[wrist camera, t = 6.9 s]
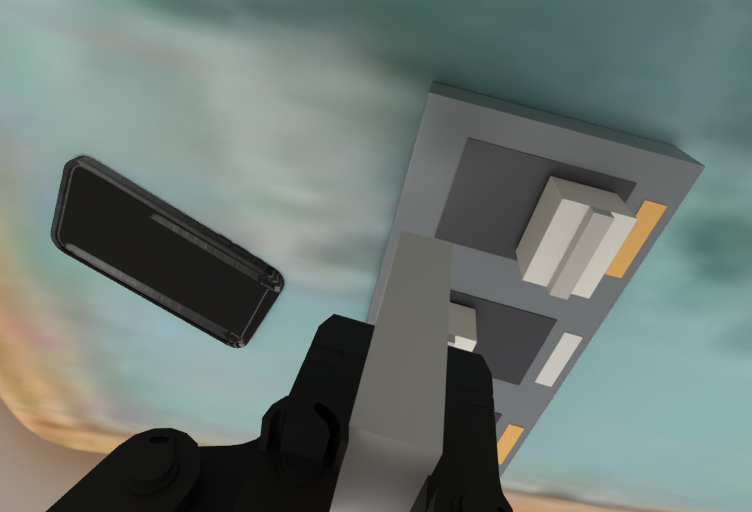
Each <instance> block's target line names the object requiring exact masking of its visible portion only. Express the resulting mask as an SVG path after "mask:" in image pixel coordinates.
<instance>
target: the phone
mask: <svg viewBox="0 0 752 512" xmlns="http://www.w3.org/2000/svg"><path fill="white" fill-rule="evenodd" d="M51 238H52V241H53V243H54V244H55V246H56V247H57V248H58V249H59V250H61V251H62V252H64V253H65V254H67V255H69V256H71V257H72V258H74V259H76V260H78V261H79V262H81V263H83V264H85V265H87V266H88V267H90V268H92V269H94V270H95V271H97V272H99V273H101V274H102V275H104V276H106V277H108V278H109V279H111V280H113V281H115V282H117V283H118V284H120V285H122V286H124V287H125V288H127V289H129V290H131V291H132V292H134V293H136V294H138V295H140V296H141V297H143V298H145V299H147V300H148V301H150V302H152V303H154V304H155V305H157V306H159V307H161V308H163V309H164V310H166V311H168V312H170V313H171V314H173V315H175V316H177V317H178V318H180V319H182V320H184V321H185V322H187V323H189V324H191V325H193V326H194V327H196V328H198V329H200V330H201V331H203V332H205V333H207V334H208V335H210V336H212V337H214V338H216V339H217V340H219V341H221V342H223V343H224V344H226V345H228V346H230V347H234V348H242V347H244V346H246V345H247V344H248V342H249V340H250V339H251V337H252V336H253V334H254V333H255V331H256V330H257V328H258V326H259V325H260V323H261V322H262V320H263V319H264V317H265V316H266V314H267V313H268V311H269V309H270V308H271V306H272V305H273V303H274V302H275V300H276V299H277V297H278V296H279V294H280V292H281V291H282V289H283V286H284V280H283V277H282V275H281V274H280V273H279V272H278V271H277V270H276V269H275V268H273V267H271V266H270V265H268V264H266V263H265V262H263V261H261V260H260V259H258V258H256V257H255V256H253V255H252V254H250V253H248V252H247V251H245V250H243V249H242V248H240V247H238V246H237V245H235V244H233V243H232V242H230V241H228V240H227V239H225V238H223V237H222V236H220V235H218V234H217V233H215V232H214V231H212V230H210V229H209V228H207V227H205V226H204V225H202V224H200V223H199V222H197V221H195V220H194V219H192V218H190V217H189V216H187V215H185V214H184V213H182V212H180V211H179V210H177V209H176V208H174V207H172V206H171V205H169V204H167V203H166V202H164V201H162V200H161V199H159V198H157V197H156V196H154V195H152V194H151V193H149V192H147V191H146V190H144V189H142V188H141V187H139V186H138V185H136V184H134V183H133V182H131V181H129V180H128V179H126V178H124V177H123V176H121V175H119V174H118V173H116V172H114V171H113V170H111V169H109V168H108V167H106V166H105V165H103V164H101V163H100V162H98V161H96V160H95V159H92V158H90V157H87V156H81V157H77V158H75V159H72V160H70V161H68V162H67V163H66V164H65V166H64V170H63V175H62V180H61V184H60V189H59V194H58V199H57V204H56V208H55V213H54V218H53V223H52V228H51Z"/></svg>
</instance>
